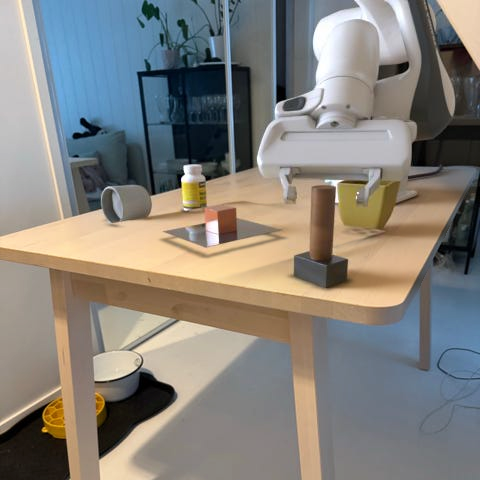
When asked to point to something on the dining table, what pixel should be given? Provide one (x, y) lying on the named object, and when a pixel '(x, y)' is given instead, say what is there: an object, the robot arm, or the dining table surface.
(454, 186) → the dining table surface
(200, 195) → the supplement bottle
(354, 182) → the flower pot
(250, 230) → the polished metal plate
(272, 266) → the dining table surface
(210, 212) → the terracotta orange cube
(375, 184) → the robot arm
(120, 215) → the ceramic mug
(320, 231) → the mallet with wooden handle
